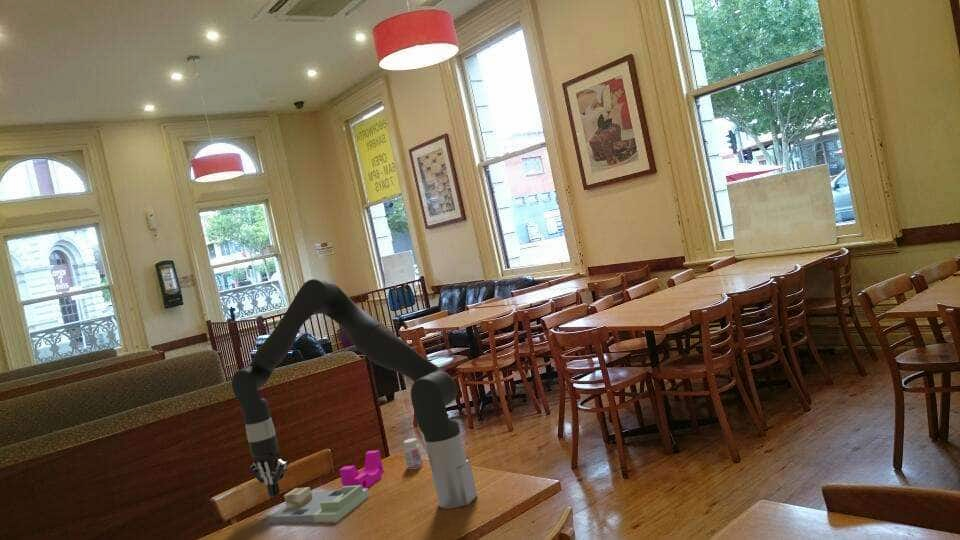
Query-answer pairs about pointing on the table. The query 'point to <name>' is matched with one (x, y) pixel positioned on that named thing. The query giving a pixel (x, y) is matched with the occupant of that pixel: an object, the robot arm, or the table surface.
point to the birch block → (298, 497)
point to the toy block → (363, 471)
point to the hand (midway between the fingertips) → (275, 496)
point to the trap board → (323, 506)
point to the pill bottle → (412, 454)
